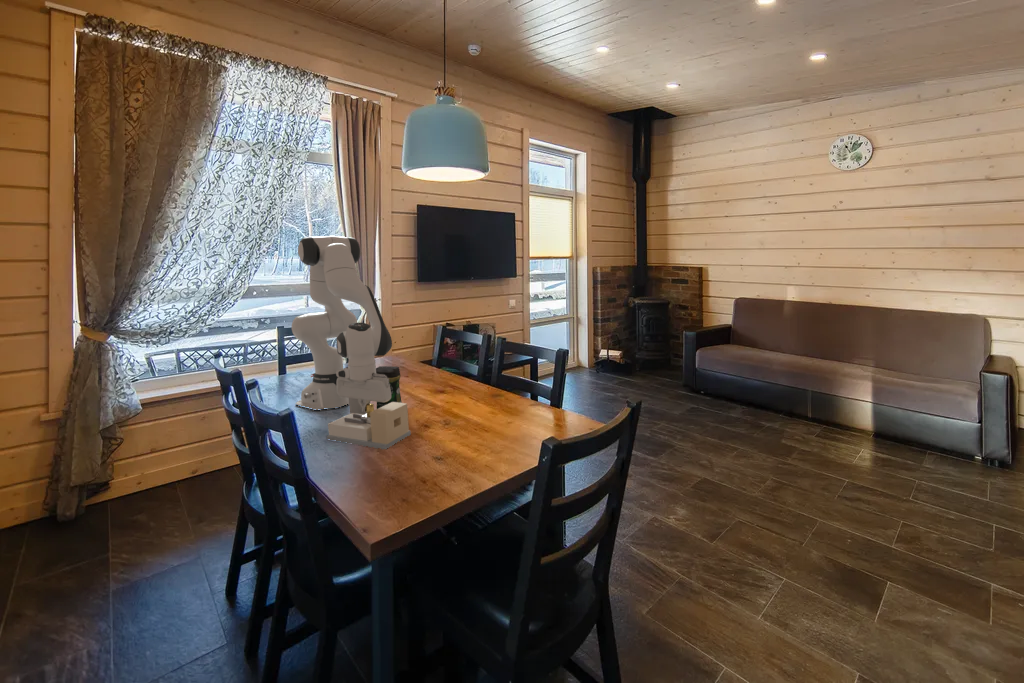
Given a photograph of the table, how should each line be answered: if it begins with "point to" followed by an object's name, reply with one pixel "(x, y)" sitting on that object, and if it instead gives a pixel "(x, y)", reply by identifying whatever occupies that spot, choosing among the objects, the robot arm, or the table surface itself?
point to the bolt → (368, 413)
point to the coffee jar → (391, 383)
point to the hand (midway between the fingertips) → (365, 411)
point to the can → (355, 406)
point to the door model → (373, 427)
